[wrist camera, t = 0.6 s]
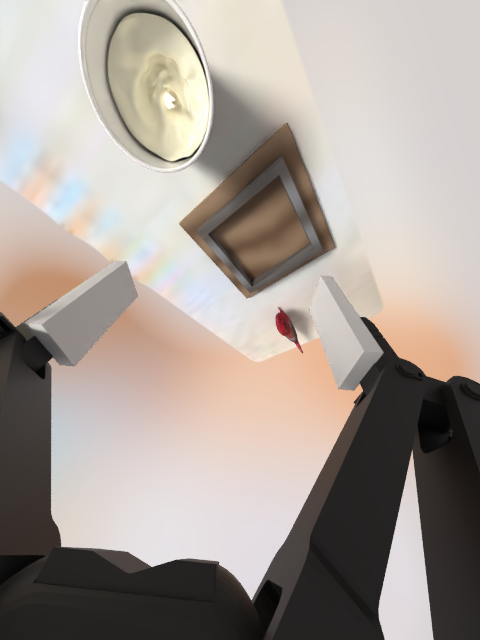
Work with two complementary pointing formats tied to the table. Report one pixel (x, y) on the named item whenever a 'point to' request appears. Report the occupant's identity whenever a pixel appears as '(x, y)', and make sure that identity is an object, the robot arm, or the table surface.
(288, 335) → the decorative bird figurine
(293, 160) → the brown square wooden tray
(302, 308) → the table surface
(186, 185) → the table surface
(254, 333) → the table surface
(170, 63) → the candle holder
